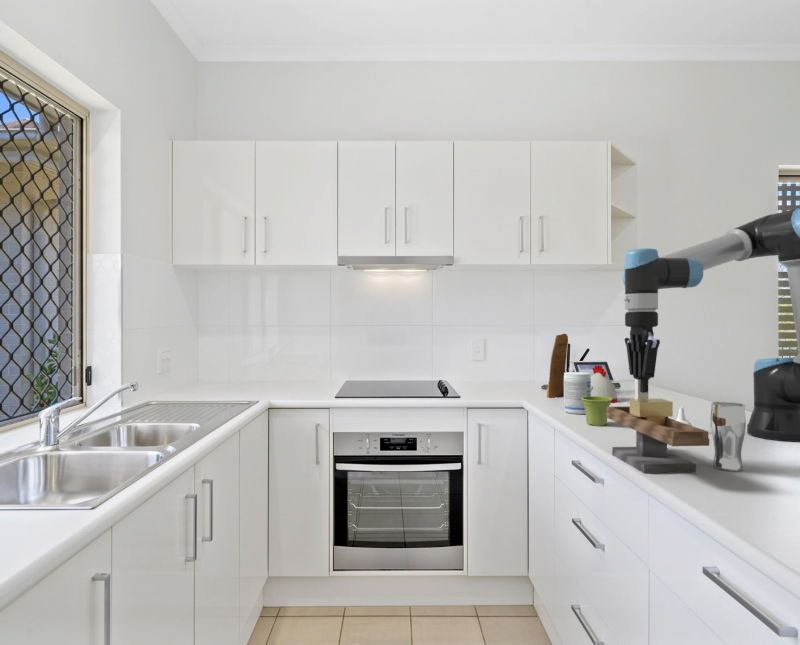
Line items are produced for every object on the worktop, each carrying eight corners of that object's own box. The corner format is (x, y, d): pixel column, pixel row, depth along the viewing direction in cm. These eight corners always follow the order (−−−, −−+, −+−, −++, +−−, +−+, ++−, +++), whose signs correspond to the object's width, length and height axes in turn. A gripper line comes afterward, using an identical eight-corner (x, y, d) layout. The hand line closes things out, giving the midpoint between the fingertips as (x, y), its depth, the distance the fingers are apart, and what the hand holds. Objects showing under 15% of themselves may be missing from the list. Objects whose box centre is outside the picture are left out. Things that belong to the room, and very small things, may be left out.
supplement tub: (593, 415, 190) (593, 374, 189) (567, 414, 190) (566, 374, 190) (587, 410, 199) (586, 371, 199) (561, 410, 200) (561, 371, 200)
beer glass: (748, 467, 122) (748, 403, 122) (742, 474, 117) (742, 407, 117) (713, 462, 127) (713, 400, 127) (707, 468, 122) (707, 404, 122)
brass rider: (629, 420, 129) (629, 399, 129) (661, 420, 130) (661, 398, 129) (639, 424, 124) (639, 402, 124) (672, 424, 125) (672, 401, 124)
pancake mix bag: (573, 394, 241) (573, 333, 241) (556, 399, 227) (556, 334, 226) (559, 392, 246) (559, 333, 245) (542, 397, 231) (541, 334, 231)
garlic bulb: (665, 432, 163) (663, 407, 162) (680, 429, 165) (678, 404, 164) (682, 436, 157) (680, 410, 156) (698, 433, 159) (696, 407, 158)
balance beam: (599, 447, 142) (599, 406, 142) (642, 446, 143) (642, 405, 143) (663, 484, 110) (663, 431, 110) (718, 483, 111) (718, 430, 111)
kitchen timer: (603, 397, 231) (603, 363, 231) (624, 402, 218) (624, 366, 218) (575, 399, 228) (575, 364, 227) (595, 404, 214) (595, 367, 214)
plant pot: (616, 427, 168) (616, 400, 168) (586, 427, 168) (586, 400, 168) (606, 421, 177) (606, 396, 177) (578, 421, 178) (578, 396, 178)
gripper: (614, 311, 138) (615, 401, 138) (640, 310, 125) (640, 409, 125) (642, 311, 138) (642, 400, 138) (670, 310, 125) (670, 409, 125)
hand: (641, 404), depth 131 cm, fingers closed
